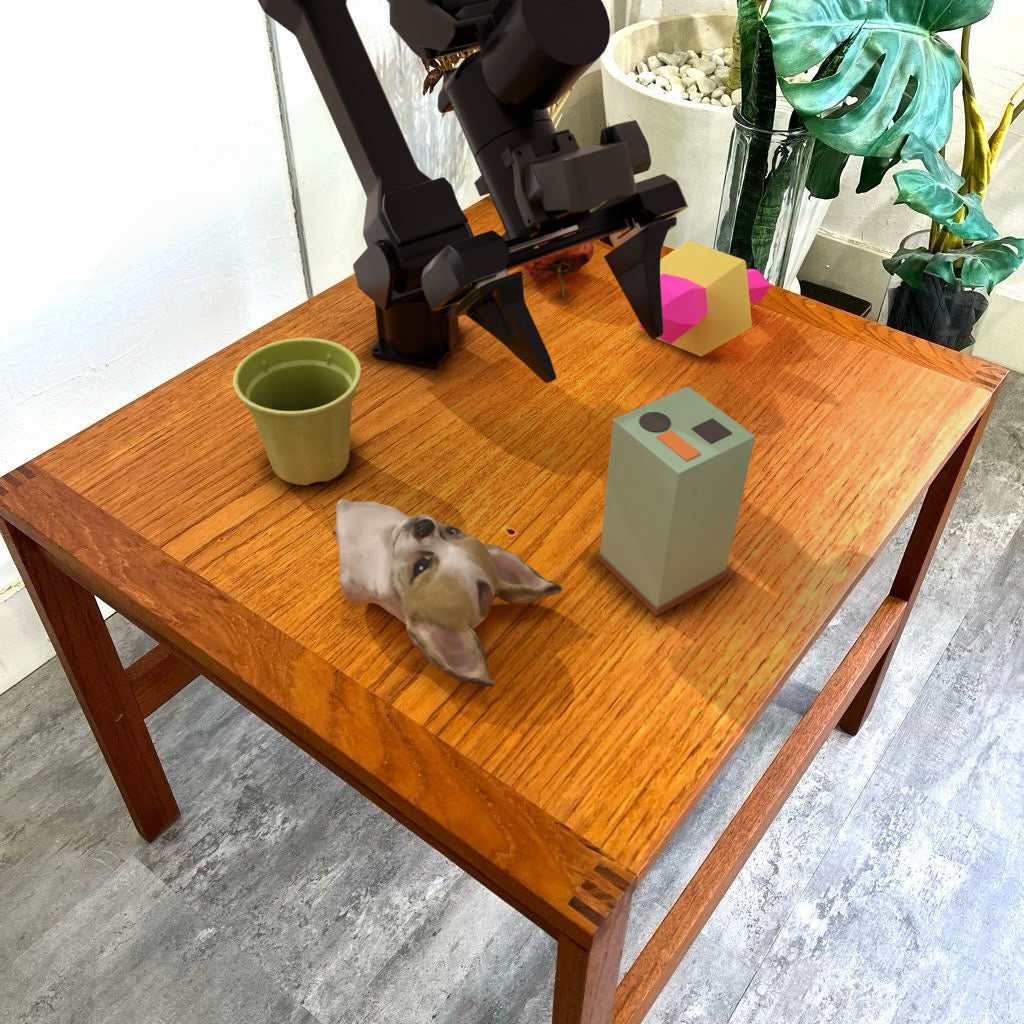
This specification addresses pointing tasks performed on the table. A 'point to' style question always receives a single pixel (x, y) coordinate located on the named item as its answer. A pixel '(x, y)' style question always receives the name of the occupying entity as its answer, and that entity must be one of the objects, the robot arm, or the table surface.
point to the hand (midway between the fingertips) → (606, 358)
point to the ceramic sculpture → (431, 581)
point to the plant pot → (301, 405)
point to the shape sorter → (673, 497)
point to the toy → (706, 297)
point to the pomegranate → (561, 263)
